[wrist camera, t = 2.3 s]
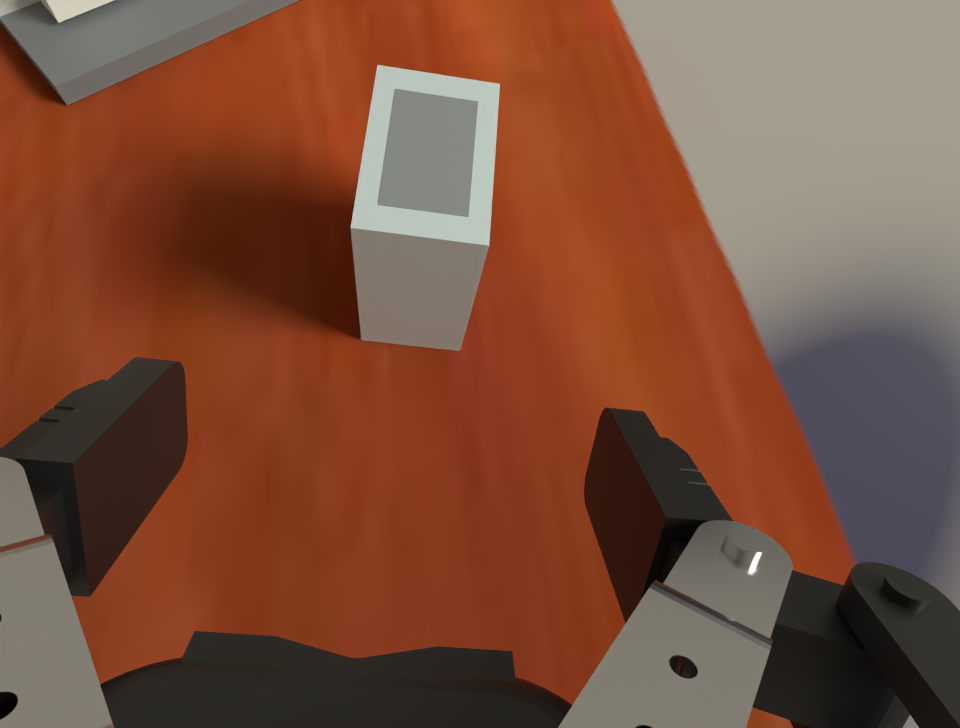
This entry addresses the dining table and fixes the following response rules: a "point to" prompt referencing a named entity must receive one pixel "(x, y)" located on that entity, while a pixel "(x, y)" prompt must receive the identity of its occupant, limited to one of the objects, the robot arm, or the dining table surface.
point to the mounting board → (120, 37)
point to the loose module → (423, 206)
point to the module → (71, 7)
